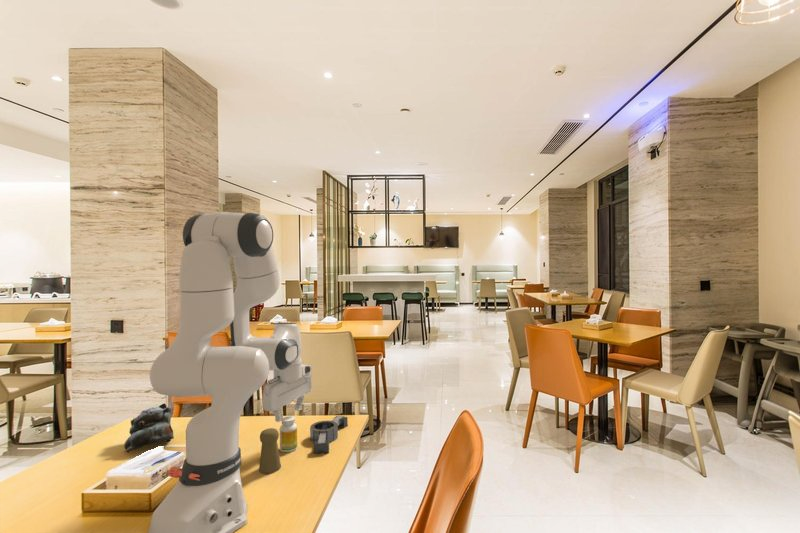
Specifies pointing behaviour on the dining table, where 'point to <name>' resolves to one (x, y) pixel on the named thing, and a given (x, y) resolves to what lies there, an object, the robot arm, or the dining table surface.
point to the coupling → (326, 433)
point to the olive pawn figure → (269, 451)
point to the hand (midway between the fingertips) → (289, 415)
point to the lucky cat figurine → (150, 428)
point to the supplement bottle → (288, 435)
